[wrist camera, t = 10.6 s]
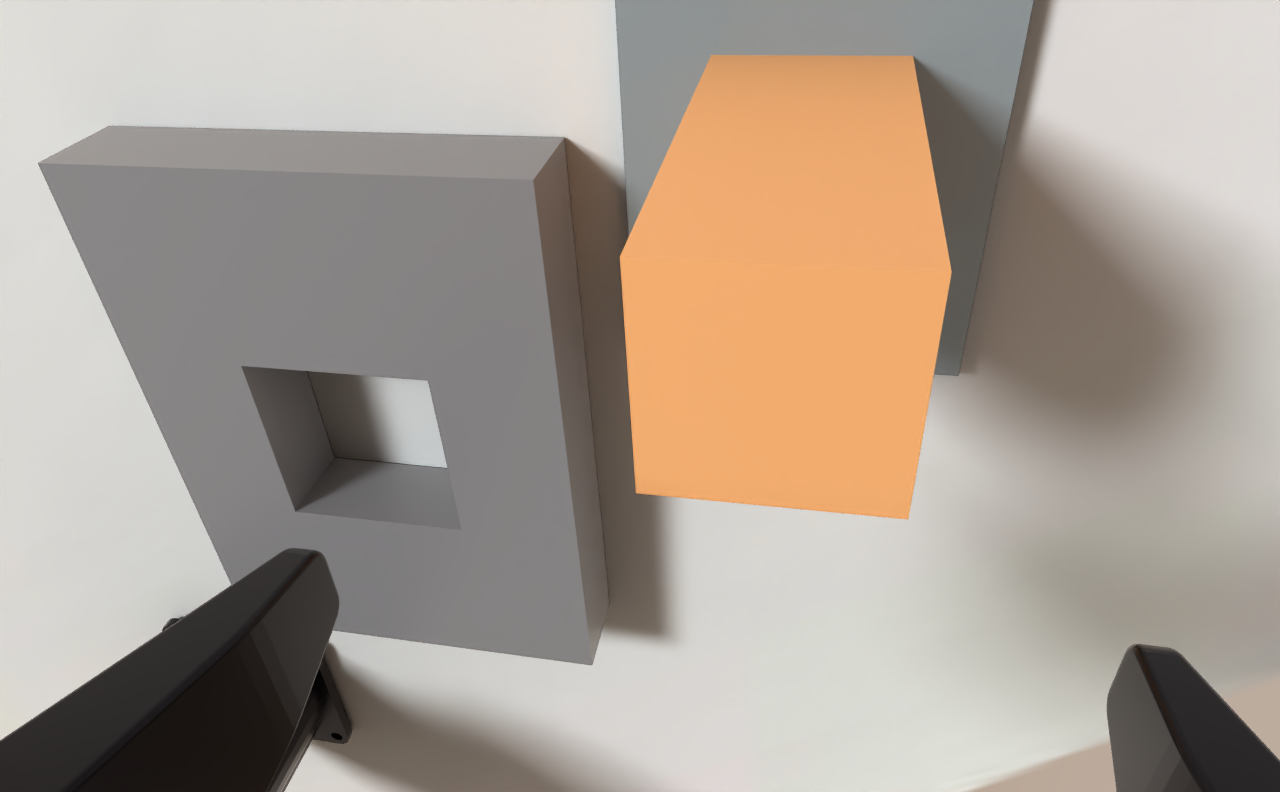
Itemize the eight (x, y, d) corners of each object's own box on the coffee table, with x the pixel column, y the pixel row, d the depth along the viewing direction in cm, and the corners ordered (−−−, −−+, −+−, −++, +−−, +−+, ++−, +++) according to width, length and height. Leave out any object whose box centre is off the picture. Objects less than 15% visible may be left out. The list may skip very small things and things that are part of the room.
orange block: (889, 240, 20) (907, 518, 13) (711, 233, 21) (636, 493, 14) (913, 55, 18) (951, 272, 10) (711, 54, 18) (619, 256, 11)
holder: (609, 604, 30) (592, 665, 28) (284, 564, 32) (247, 618, 30) (564, 137, 21) (533, 180, 19) (108, 125, 23) (37, 163, 21)
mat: (956, 364, 22) (958, 375, 22) (638, 343, 23) (635, 353, 23) (1059, -158, 16) (1064, -156, 15) (612, -143, 17) (607, -141, 17)
